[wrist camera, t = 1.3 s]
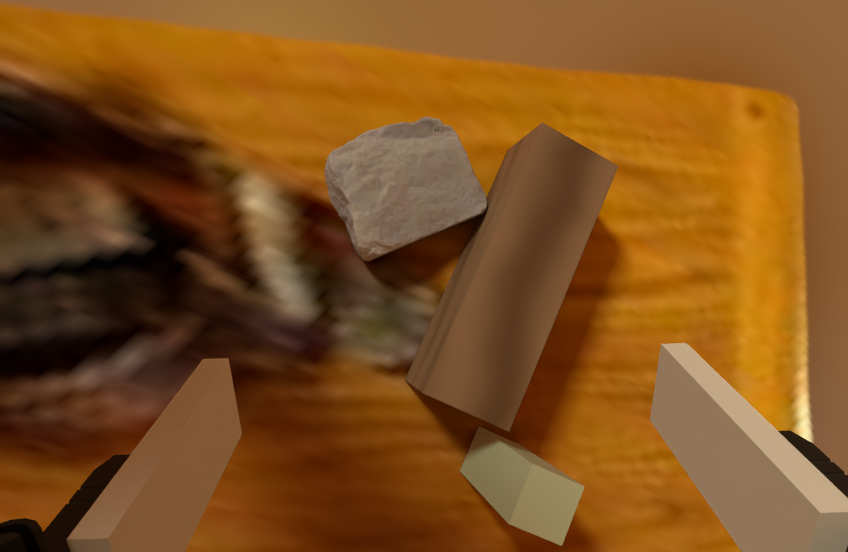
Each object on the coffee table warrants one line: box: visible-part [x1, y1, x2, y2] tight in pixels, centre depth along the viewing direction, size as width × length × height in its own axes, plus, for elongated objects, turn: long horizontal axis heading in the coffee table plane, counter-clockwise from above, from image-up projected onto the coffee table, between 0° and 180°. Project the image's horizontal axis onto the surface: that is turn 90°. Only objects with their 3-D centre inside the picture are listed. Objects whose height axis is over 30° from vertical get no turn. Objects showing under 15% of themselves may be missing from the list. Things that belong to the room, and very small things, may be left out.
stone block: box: [325, 117, 487, 261], centre depth 43 cm, size 12×5×10 cm
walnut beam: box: [405, 123, 618, 432], centre depth 42 cm, size 7×22×7 cm, turn 156°
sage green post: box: [460, 427, 585, 546], centre depth 39 cm, size 4×4×11 cm
